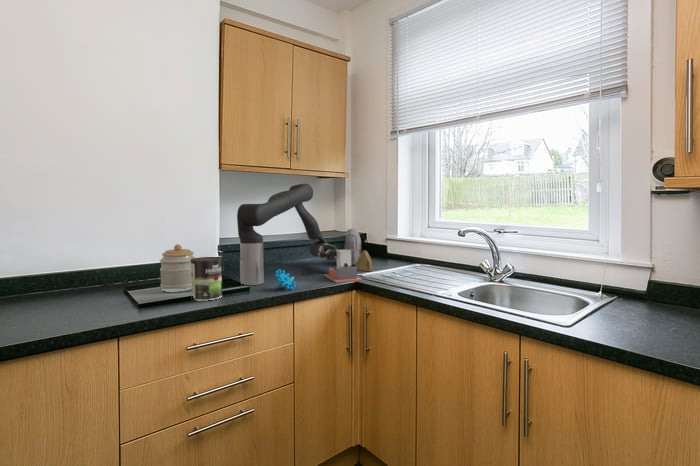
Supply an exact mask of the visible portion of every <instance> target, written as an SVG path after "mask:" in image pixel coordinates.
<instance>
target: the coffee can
mask: <svg viewBox="0 0 700 466" xmlns="http://www.w3.org/2000/svg"><path fill="white" fill-rule="evenodd" d="M222 259H223V258H222V257H220V256H201V257H199V256H198V257H195V258H193V259H191V277H192V290H191V297H192V296H193V298H194V300H196V301H195V302H209V301H208V300H213V301H216V300H215V299H217V300H220V299H222V298H223V282H222V281H223V279H222V278H223V276H222ZM221 297H222V298H221ZM219 298H220V299H219ZM194 300H193V301H194Z"/></svg>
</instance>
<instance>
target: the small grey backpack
mask: <svg viewBox="0 0 700 466" xmlns="http://www.w3.org/2000/svg"><path fill="white" fill-rule="evenodd" d="M343 250H350V251H351V266H355V264H356V262H357V260H358V258H359V256H360V255H361V253H362V252H363V250H362V239H361V236H360V233H359V232H358V230H357V229H356V228H353V227H352V228H349V229H347V230H346V231H345V239H344V249H343Z"/></svg>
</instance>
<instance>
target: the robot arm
mask: <svg viewBox="0 0 700 466" xmlns="http://www.w3.org/2000/svg"><path fill="white" fill-rule="evenodd" d="M313 197H314V189H313V187H312V185H311V184H309V183H300V184H294V185H292V186H290V187H289V189H288V190H284V191H279V192H277V193H274V194H272V195H271V196H270V197H269V198H267V199H268V200H267V201H266V202H264V203H263V202H262V203H243V204H240V205H239V206H238V209H237V214H236V223H237V232H238V234H237V235H238V237H239V247H240V259H239V267H240V268H239V275H240V276H239V277H240V279H239V281H240V284H241V285H242V284H244V285H243V286H258V285H262V284H264V282H265V279H264V276H265V275H264V274H265V273H264V272H265V271H264V236H263V235H262V234H260V233H258V232H257V231H256V230H255V229H254V227H261V226H263V225H264V224H266V223H267V222H269V221H270V220H272V219H273V218H274V217H277V216H279V215H281V214H283V213H286V212H287V211H289V210H291V209H294V208H295V211H296V212H297V214H298V216H299V218H300V220H301V221H302V224H303V226H304V229H305V232H306V235H307V238H308V239H309V240H311V241H313V240H317V241H314V242H312V243H310V244H309V246H308V251H309V253H310V254H311V255H312V256H313V257H317V258H318V257H319V258H320V259H325V260H328V261H333V260H335V259H337V250H339V249H338V247H336V246H335V245H333V244H331V243H328V242H327V240H326V239H325V237H324V236H323V235H322V233H321V230H320V227H319V223H318V221H317V220H316V218H315V217H314V216H313V215H312V214H311V213H310V212H309V211H308V210H307V209H306V207H305V206H304V203H305V202H309V201H311V200H312V199H313Z"/></svg>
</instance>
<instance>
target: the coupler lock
mask: <svg viewBox="0 0 700 466" xmlns="http://www.w3.org/2000/svg"><path fill="white" fill-rule="evenodd" d="M346 267H352V265H351V251H350V250H344V249H338V250H337V257H336V271H338V268H346Z"/></svg>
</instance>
